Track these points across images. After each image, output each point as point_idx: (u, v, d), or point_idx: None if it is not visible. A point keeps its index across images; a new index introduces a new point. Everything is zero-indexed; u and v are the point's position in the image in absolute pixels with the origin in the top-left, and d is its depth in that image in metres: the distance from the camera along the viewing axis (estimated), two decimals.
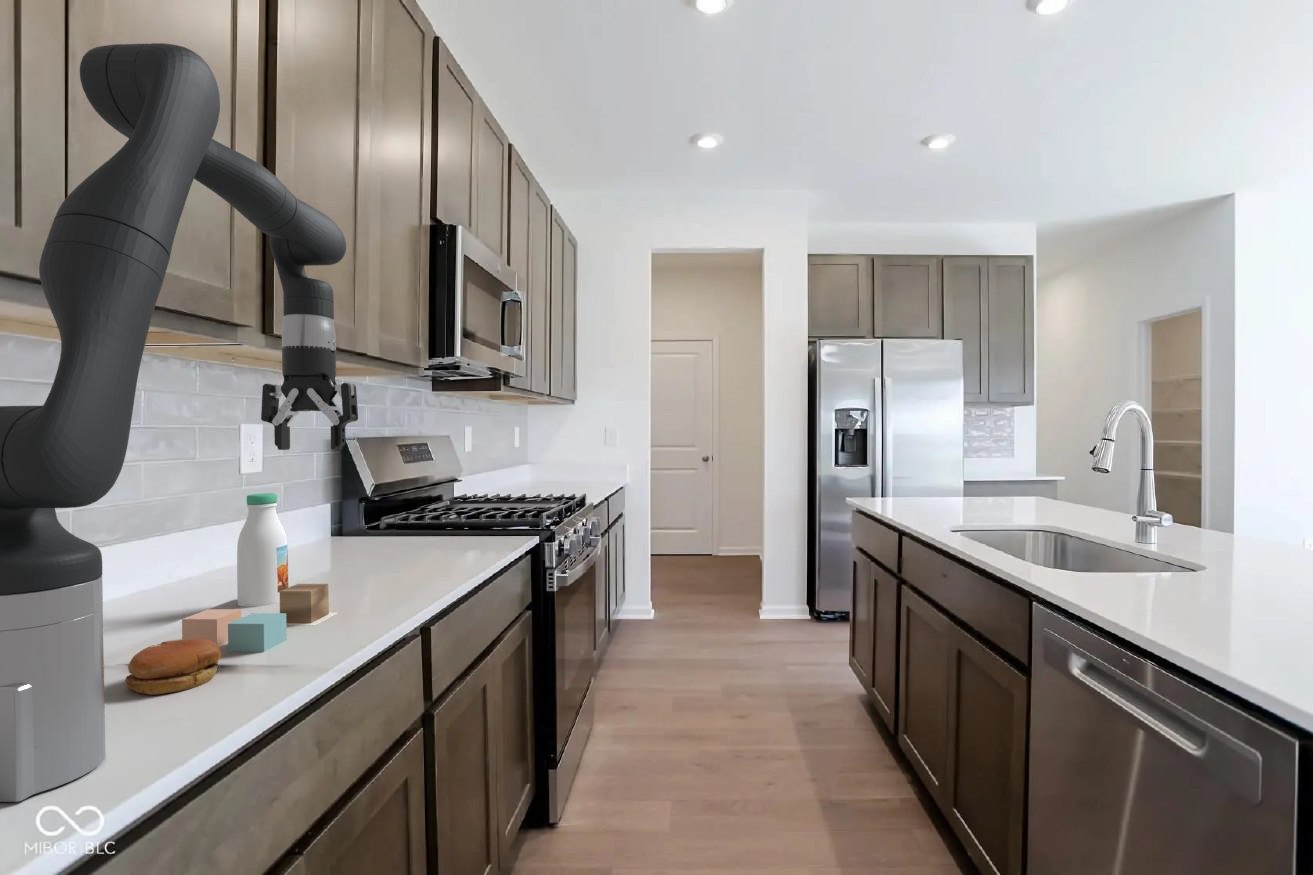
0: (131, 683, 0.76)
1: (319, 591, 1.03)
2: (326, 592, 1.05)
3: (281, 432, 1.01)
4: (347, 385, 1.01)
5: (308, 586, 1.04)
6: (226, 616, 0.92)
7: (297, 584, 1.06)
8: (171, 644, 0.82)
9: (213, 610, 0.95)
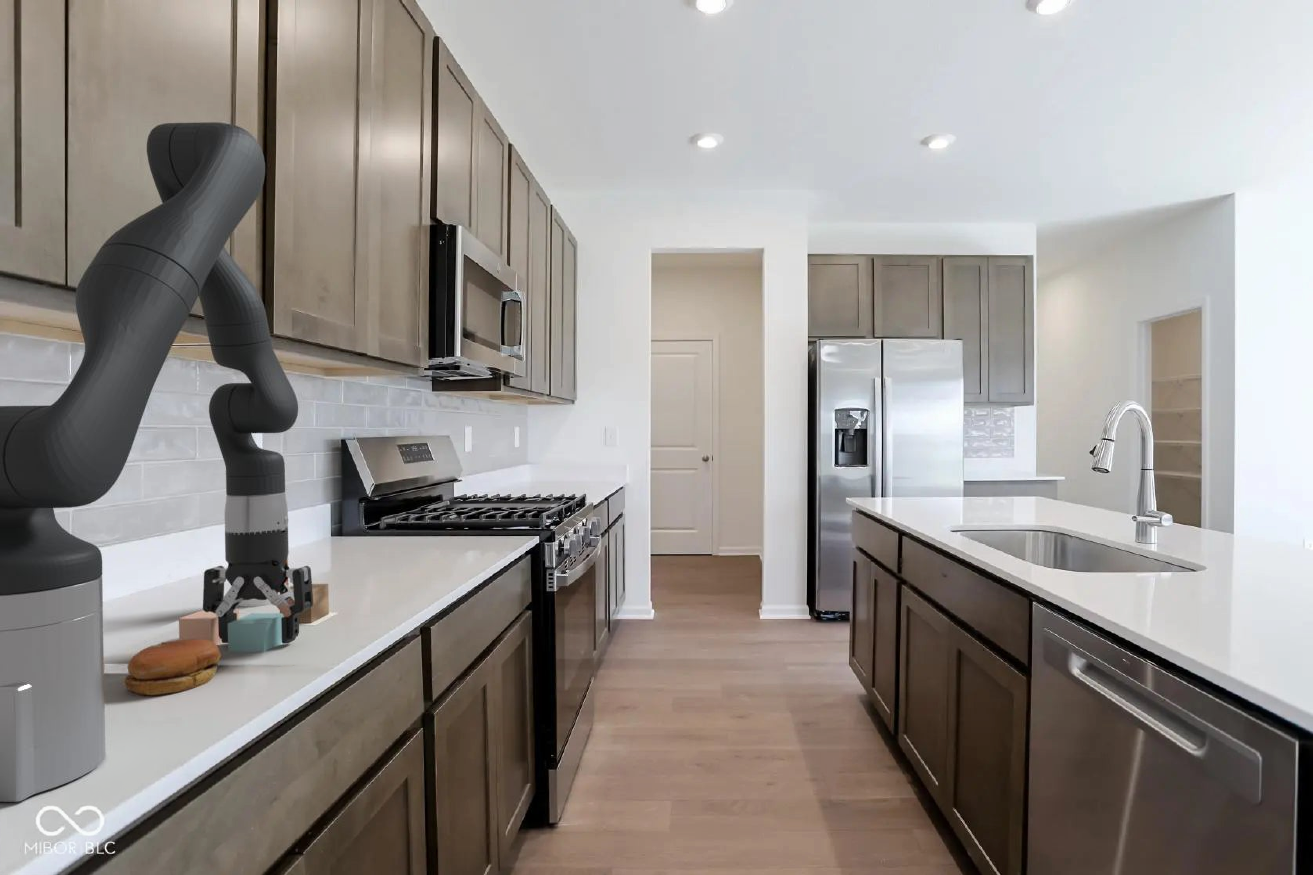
0: (130, 684, 0.76)
1: (319, 591, 1.03)
2: (326, 592, 1.05)
3: (226, 624, 0.90)
4: (299, 572, 0.89)
5: None
6: None
7: None
8: (170, 644, 0.82)
9: None
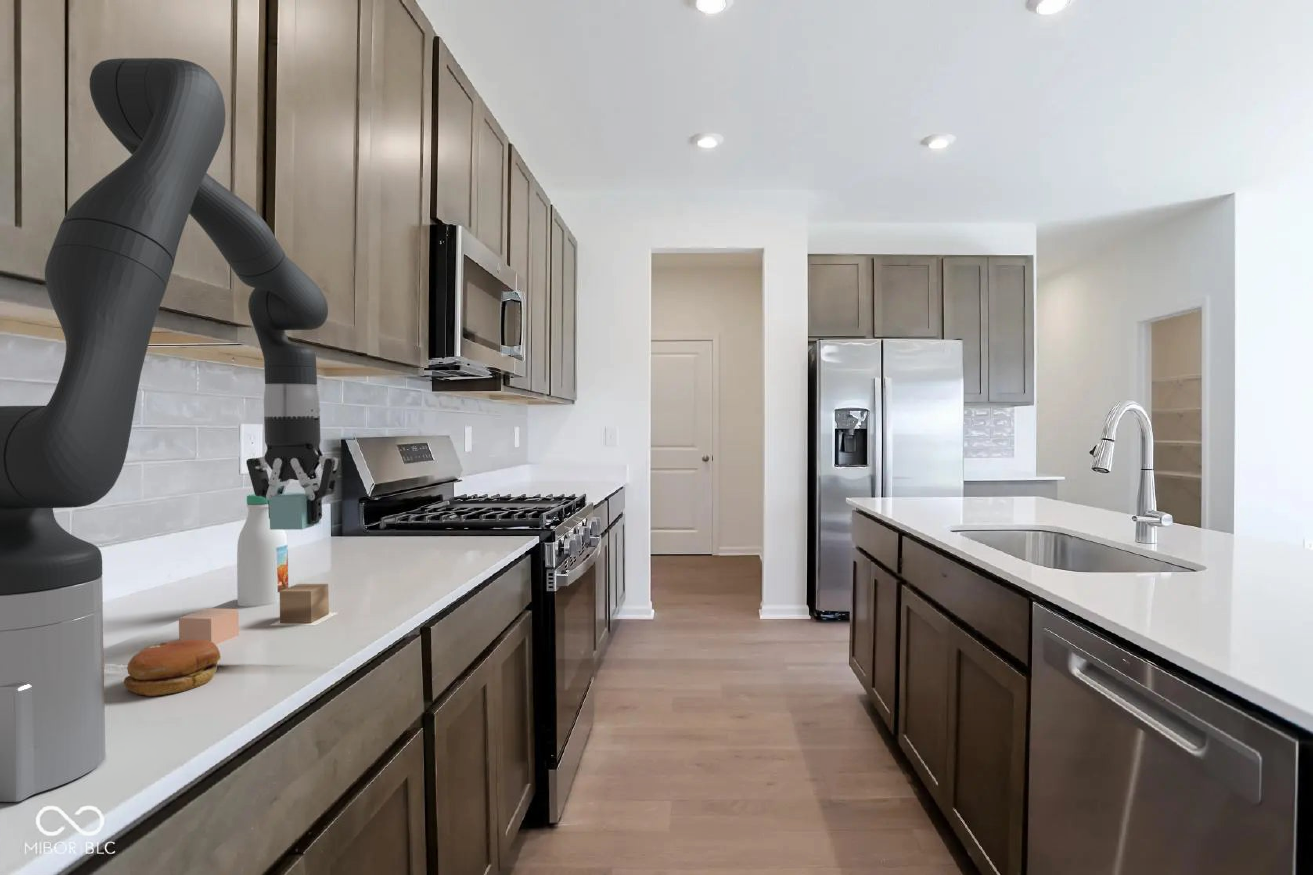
0: (130, 684, 0.76)
1: (319, 591, 1.03)
2: (326, 592, 1.05)
3: None
4: (331, 461, 0.99)
5: (308, 586, 1.04)
6: (221, 616, 0.92)
7: (297, 584, 1.06)
8: (170, 645, 0.82)
9: (212, 609, 0.95)
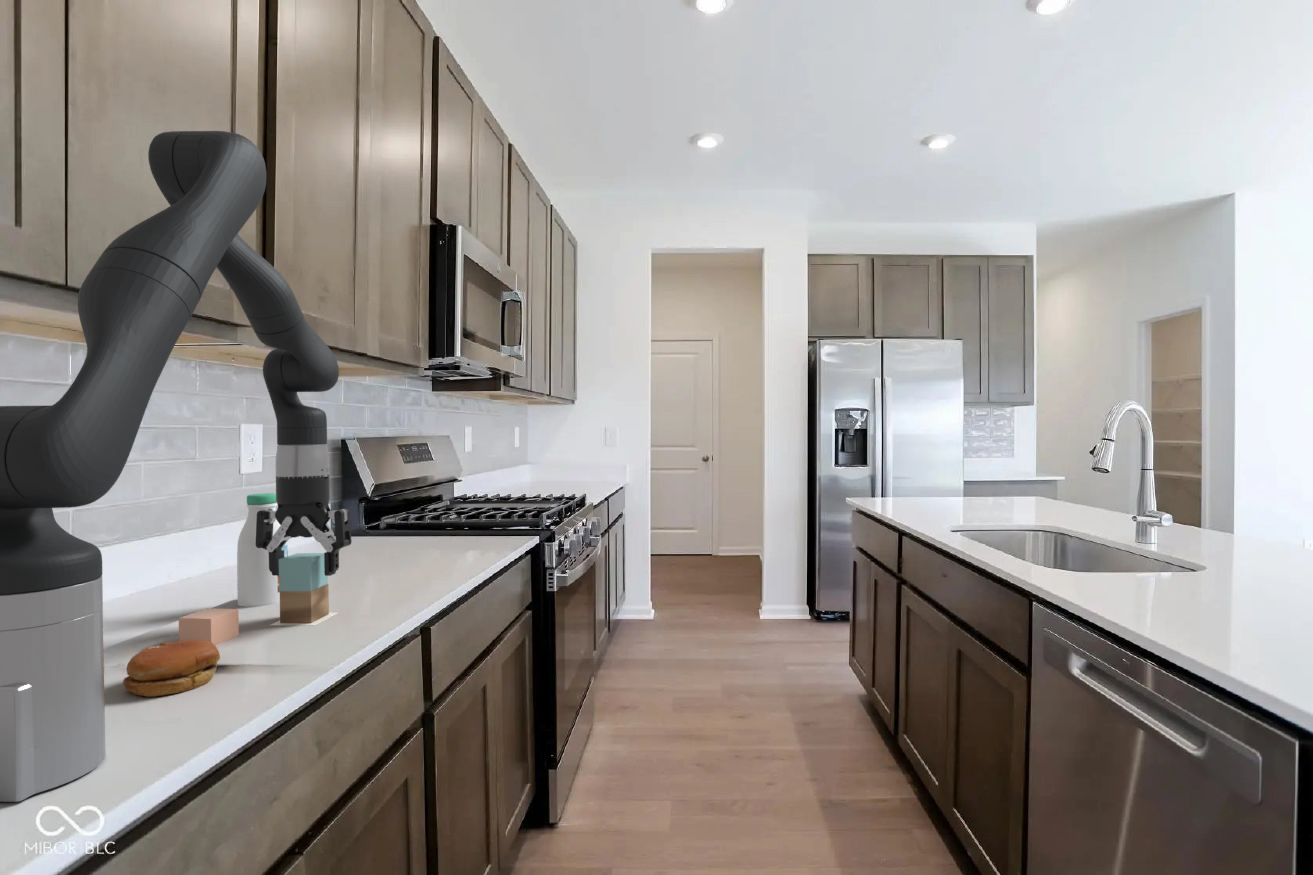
0: (129, 685, 0.76)
1: (319, 591, 1.03)
2: (326, 592, 1.05)
3: (275, 558, 1.03)
4: (340, 513, 1.02)
5: None
6: (221, 616, 0.92)
7: None
8: (170, 645, 0.81)
9: (212, 609, 0.95)
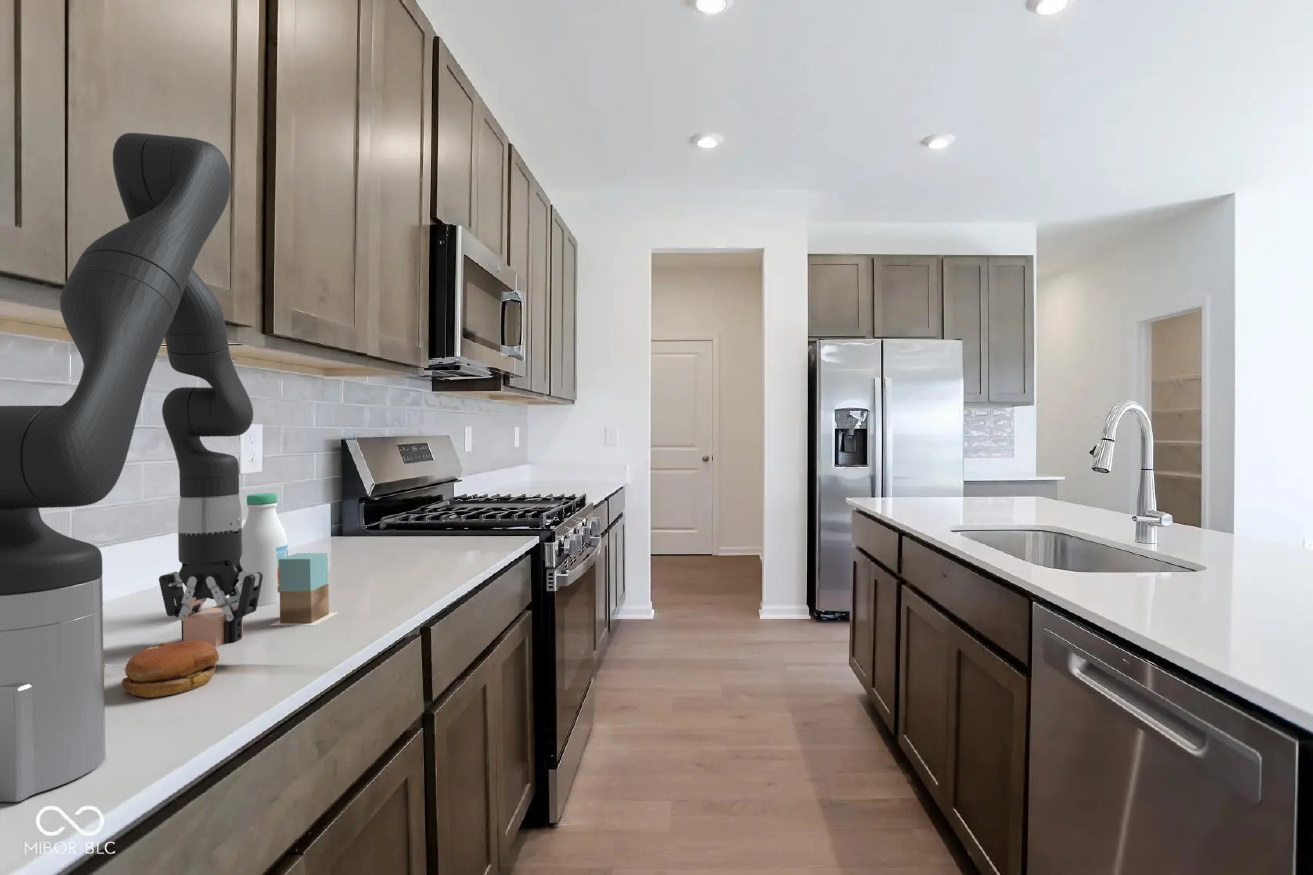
0: (127, 686, 0.75)
1: (319, 591, 1.03)
2: (326, 592, 1.05)
3: None
4: (251, 579, 0.91)
5: None
6: None
7: None
8: (168, 646, 0.81)
9: (216, 609, 0.95)
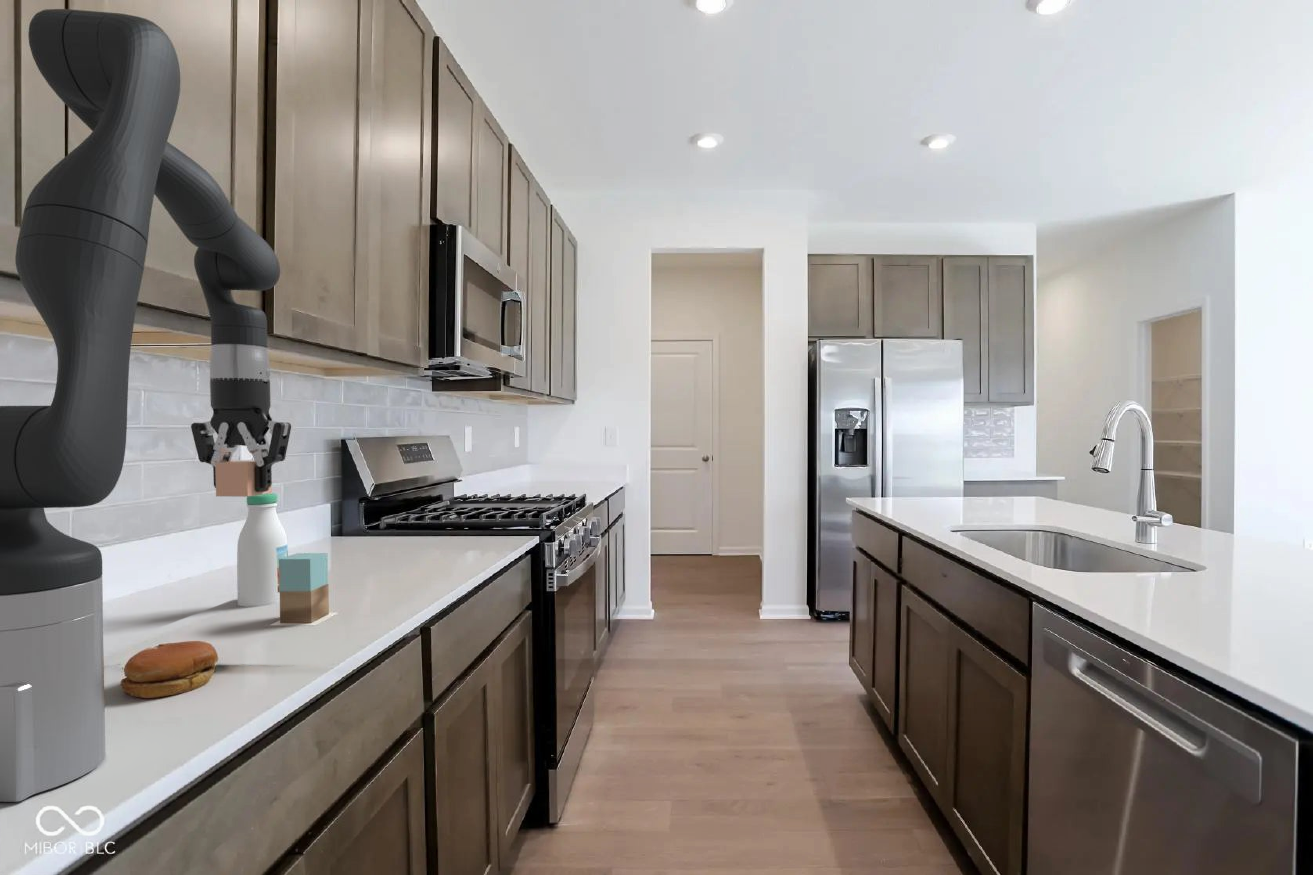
0: (126, 686, 0.75)
1: (319, 591, 1.03)
2: (326, 592, 1.05)
3: None
4: (281, 426, 0.95)
5: None
6: None
7: None
8: (167, 647, 0.81)
9: (245, 460, 0.99)
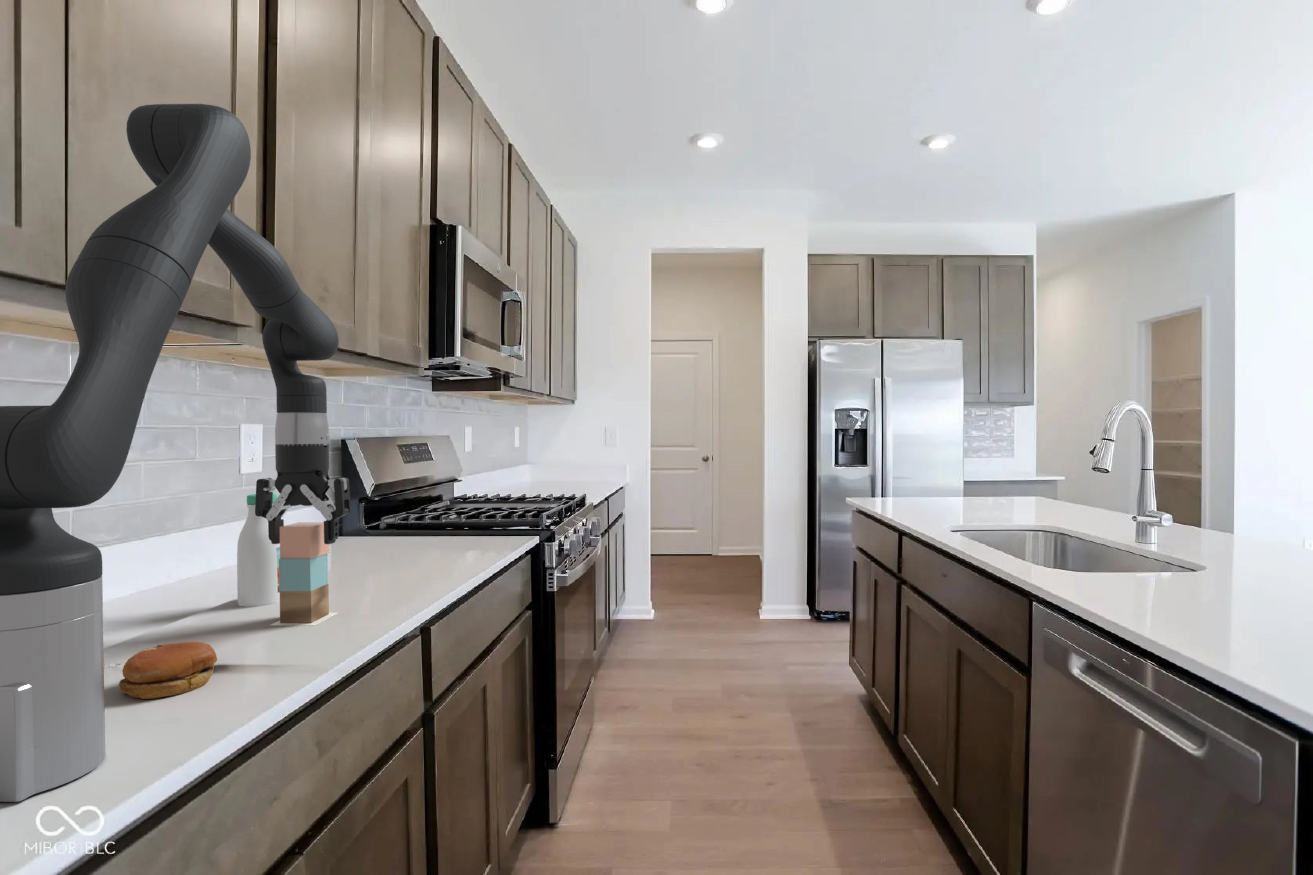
0: (124, 687, 0.75)
1: (319, 591, 1.03)
2: (326, 592, 1.05)
3: (275, 527, 1.03)
4: (340, 481, 1.02)
5: None
6: (317, 526, 1.03)
7: None
8: (166, 647, 0.81)
9: (304, 522, 1.06)
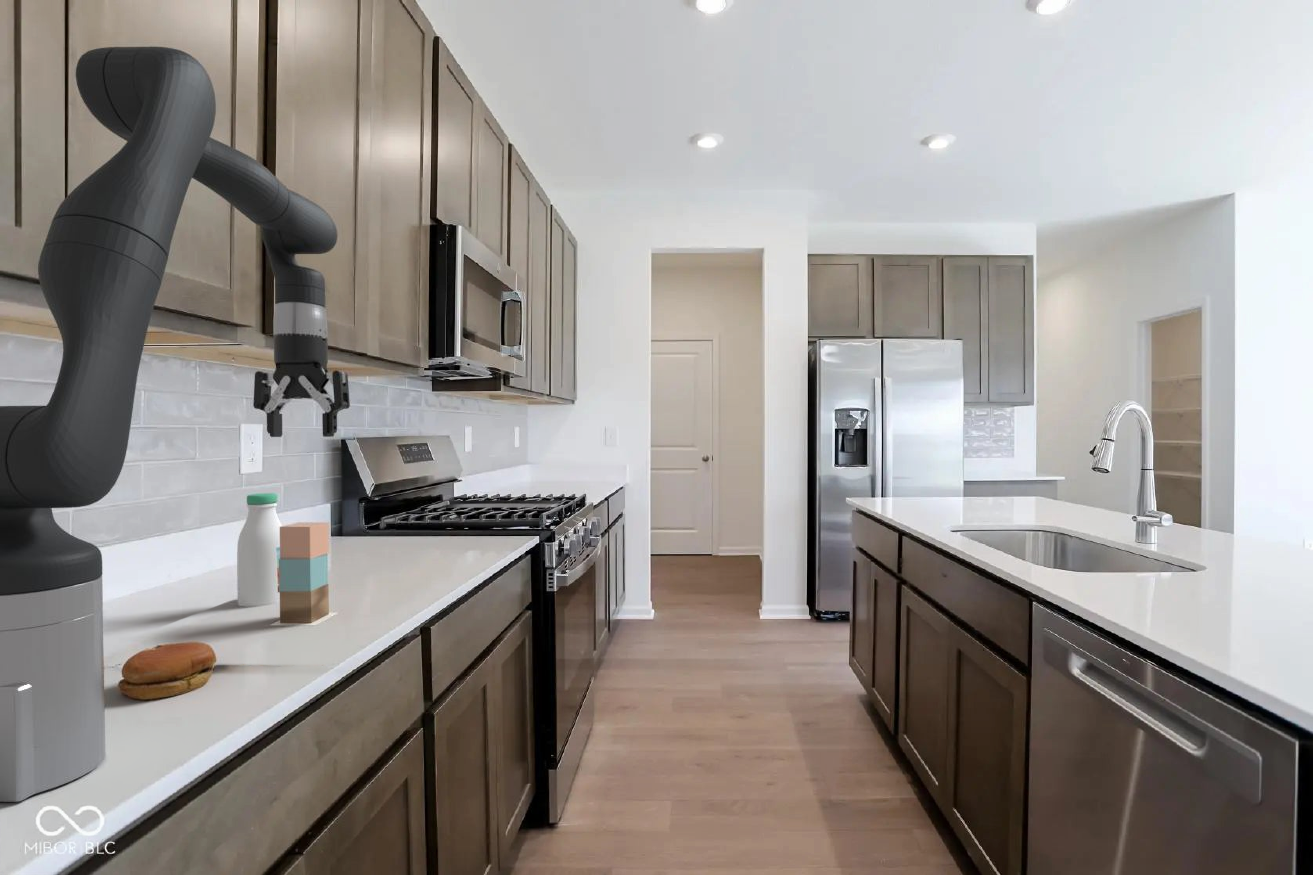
0: (124, 688, 0.75)
1: (319, 591, 1.03)
2: (326, 592, 1.05)
3: (273, 419, 1.02)
4: (338, 373, 1.02)
5: None
6: (317, 526, 1.03)
7: None
8: (166, 648, 0.81)
9: (304, 522, 1.06)
